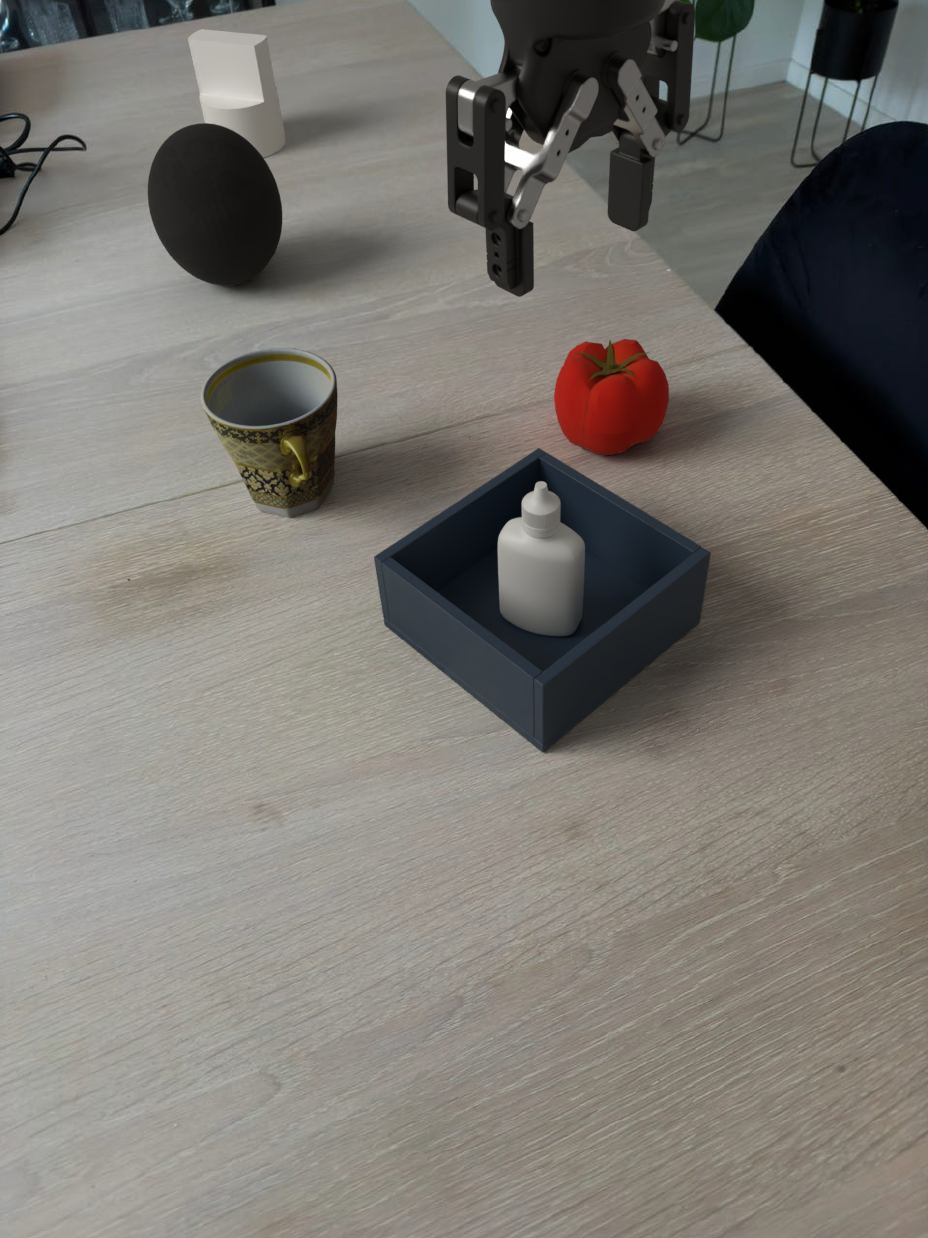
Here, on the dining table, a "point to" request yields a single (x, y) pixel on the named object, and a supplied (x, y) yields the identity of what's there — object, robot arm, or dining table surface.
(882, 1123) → the dining table surface
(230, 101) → the base with upright slab
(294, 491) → the ceramic cup
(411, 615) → the bin
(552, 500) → the eye dropper bottle
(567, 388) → the tomato
